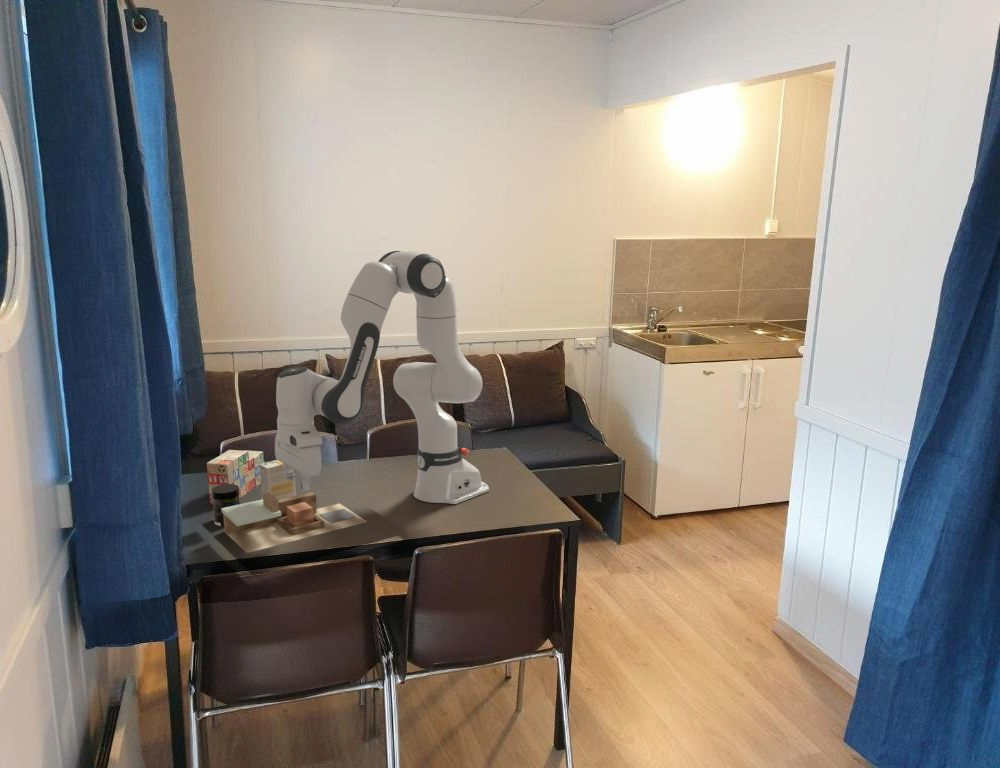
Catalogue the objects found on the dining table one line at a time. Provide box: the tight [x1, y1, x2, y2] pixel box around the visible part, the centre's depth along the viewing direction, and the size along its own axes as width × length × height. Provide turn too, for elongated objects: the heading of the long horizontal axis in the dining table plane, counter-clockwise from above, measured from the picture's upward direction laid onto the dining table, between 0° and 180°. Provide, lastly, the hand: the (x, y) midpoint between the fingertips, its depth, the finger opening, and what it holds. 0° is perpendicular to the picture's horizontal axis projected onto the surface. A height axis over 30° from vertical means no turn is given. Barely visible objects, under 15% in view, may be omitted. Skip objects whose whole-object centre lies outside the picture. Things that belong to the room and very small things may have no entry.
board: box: [223, 491, 368, 554], centre depth 200 cm, size 32×16×7 cm, turn 128°
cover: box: [221, 493, 281, 526], centre depth 193 cm, size 11×11×4 cm
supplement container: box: [212, 484, 241, 527], centre depth 202 cm, size 7×7×10 cm
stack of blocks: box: [206, 449, 266, 505], centre depth 227 cm, size 21×6×12 cm, turn 169°
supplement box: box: [259, 459, 297, 500], centre depth 215 cm, size 8×5×13 cm, turn 134°
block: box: [287, 502, 314, 527], centre depth 200 cm, size 5×5×5 cm
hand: (297, 484), depth 198 cm, fingers open, 8 cm apart
